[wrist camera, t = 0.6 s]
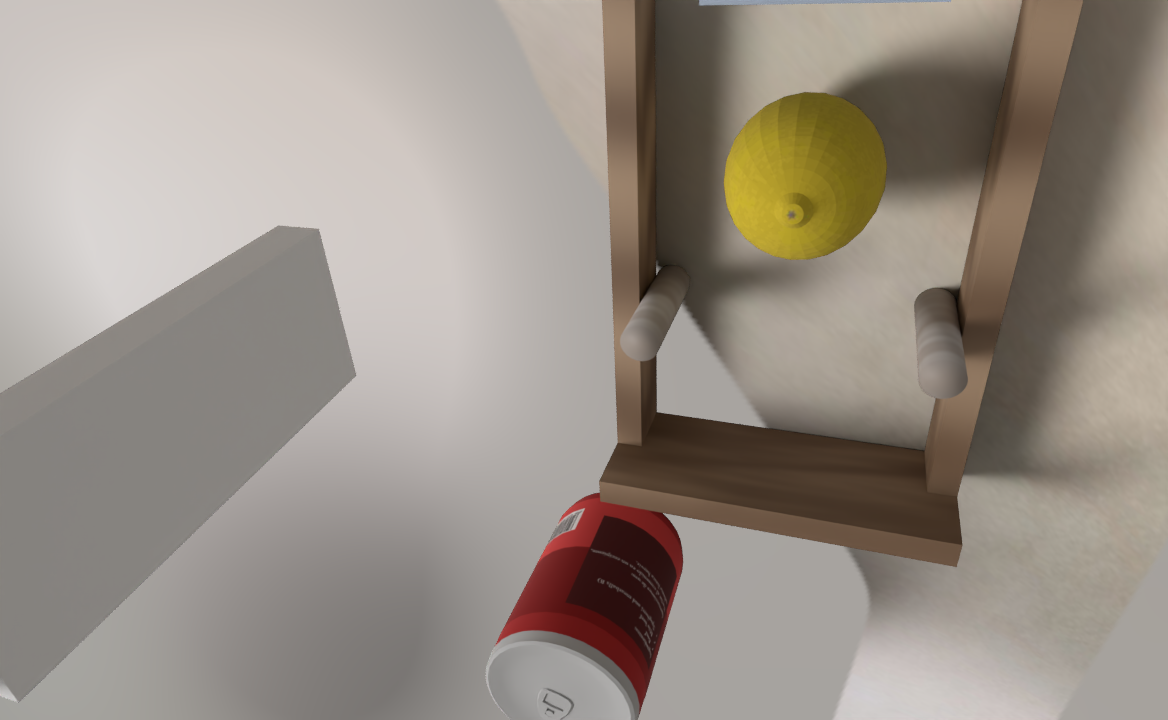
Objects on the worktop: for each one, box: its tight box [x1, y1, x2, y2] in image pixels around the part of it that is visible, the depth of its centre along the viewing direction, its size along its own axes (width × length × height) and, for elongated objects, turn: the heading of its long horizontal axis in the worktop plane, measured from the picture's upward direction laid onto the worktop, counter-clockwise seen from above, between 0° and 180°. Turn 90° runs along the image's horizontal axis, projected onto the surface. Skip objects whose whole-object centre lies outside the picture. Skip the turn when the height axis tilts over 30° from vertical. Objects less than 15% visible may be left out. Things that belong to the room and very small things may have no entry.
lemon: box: [724, 92, 887, 260], centre depth 28 cm, size 6×6×8 cm
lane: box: [599, 0, 1083, 567], centre depth 31 cm, size 21×15×6 cm
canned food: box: [485, 493, 683, 720], centre depth 41 cm, size 8×8×11 cm
